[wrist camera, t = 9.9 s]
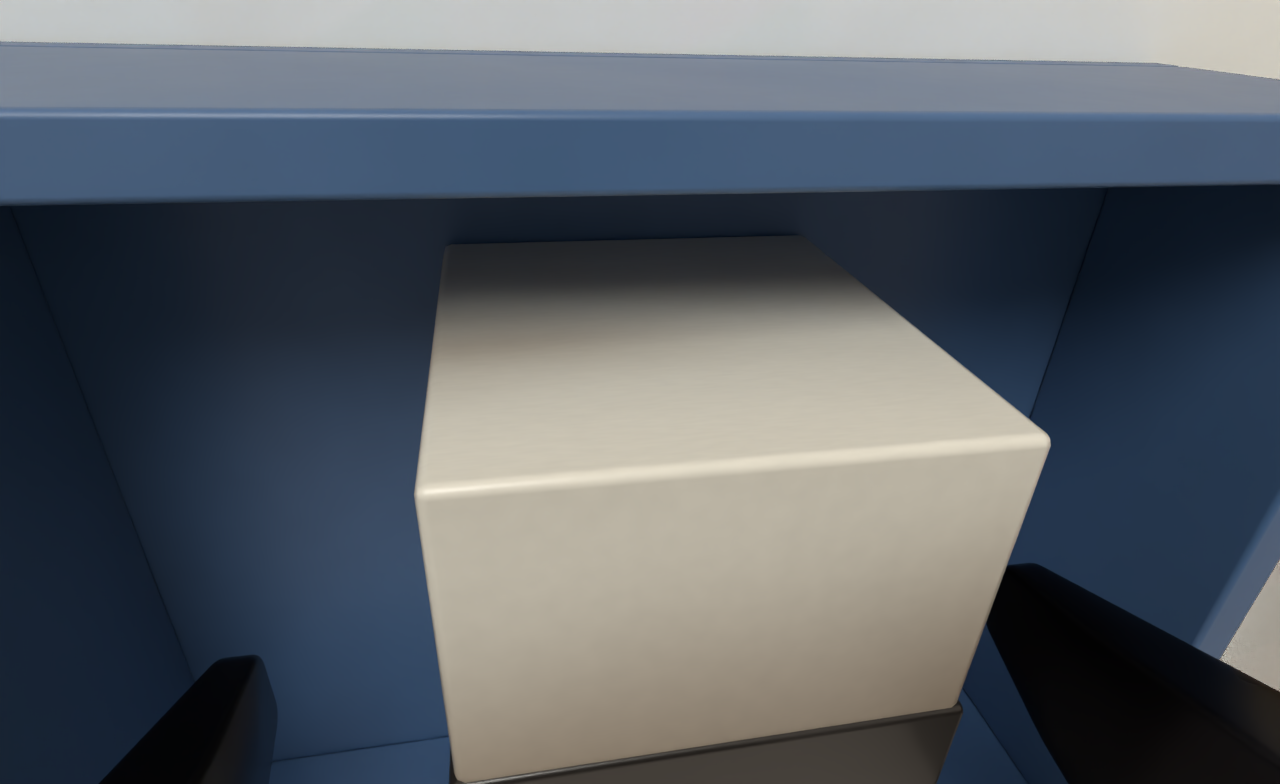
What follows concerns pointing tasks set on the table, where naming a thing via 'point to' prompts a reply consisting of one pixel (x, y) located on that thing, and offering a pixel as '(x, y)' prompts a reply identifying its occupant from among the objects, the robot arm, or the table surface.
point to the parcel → (704, 517)
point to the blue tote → (556, 212)
